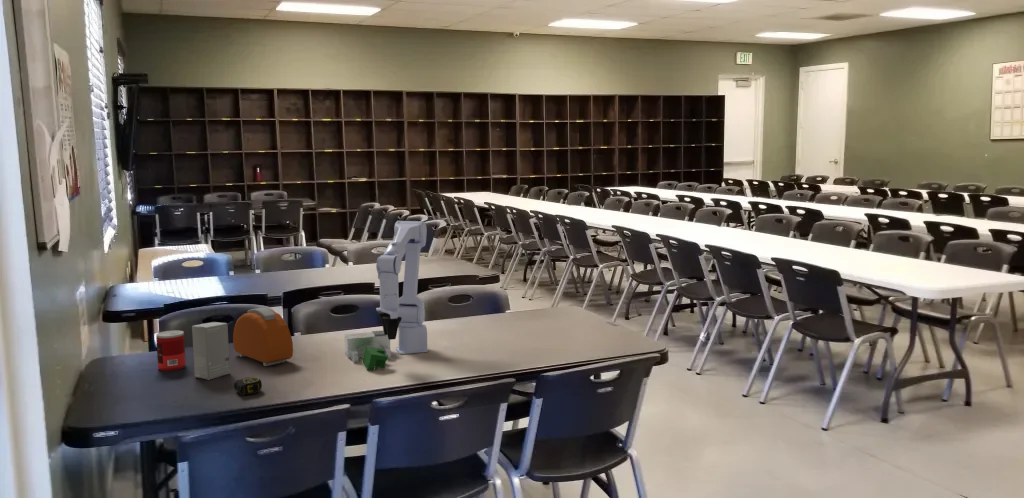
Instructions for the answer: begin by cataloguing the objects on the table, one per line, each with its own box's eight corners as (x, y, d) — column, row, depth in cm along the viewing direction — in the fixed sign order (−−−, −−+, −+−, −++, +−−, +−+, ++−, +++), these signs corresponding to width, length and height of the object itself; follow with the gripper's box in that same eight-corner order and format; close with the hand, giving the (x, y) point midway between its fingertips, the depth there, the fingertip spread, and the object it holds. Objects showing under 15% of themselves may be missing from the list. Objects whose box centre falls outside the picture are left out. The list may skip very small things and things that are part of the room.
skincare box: (208, 380, 221) (206, 328, 219) (192, 377, 225) (189, 325, 223) (232, 373, 229) (229, 322, 227) (215, 370, 232) (213, 319, 230)
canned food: (191, 365, 237) (189, 331, 236) (172, 372, 230) (170, 337, 228) (171, 363, 240) (170, 329, 238) (152, 369, 232) (150, 335, 231)
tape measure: (233, 391, 212) (232, 379, 211) (258, 387, 216) (257, 374, 215) (239, 398, 206) (239, 385, 206) (265, 393, 210) (264, 380, 210)
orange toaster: (294, 363, 240) (292, 311, 238) (268, 369, 234) (266, 316, 232) (257, 350, 256) (255, 301, 254) (232, 355, 250) (230, 305, 248)
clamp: (381, 381, 235) (389, 360, 232) (364, 379, 233) (371, 357, 230) (378, 359, 244) (386, 338, 241) (362, 356, 242) (369, 335, 239)
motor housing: (386, 349, 257) (386, 329, 256) (394, 359, 245) (393, 338, 244) (345, 353, 252) (344, 332, 251) (350, 363, 240) (349, 341, 239)
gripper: (372, 290, 238) (373, 332, 239) (380, 298, 224) (381, 343, 226) (394, 289, 240) (395, 330, 242) (404, 297, 227) (404, 341, 228)
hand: (390, 336), depth 234 cm, fingers open, 6 cm apart
